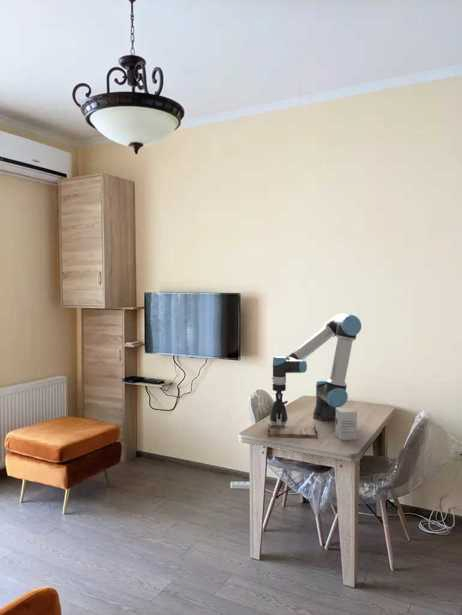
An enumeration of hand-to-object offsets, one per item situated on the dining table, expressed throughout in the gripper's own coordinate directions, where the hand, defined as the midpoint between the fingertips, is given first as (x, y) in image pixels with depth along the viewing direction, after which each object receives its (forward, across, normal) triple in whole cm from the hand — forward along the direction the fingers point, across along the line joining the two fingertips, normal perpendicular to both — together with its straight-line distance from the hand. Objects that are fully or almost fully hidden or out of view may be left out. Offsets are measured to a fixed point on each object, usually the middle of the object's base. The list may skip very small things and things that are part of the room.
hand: (278, 421), depth 275 cm
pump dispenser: (+3, 0, 0) cm, 3 cm away
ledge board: (+2, +14, +7) cm, 16 cm away
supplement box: (+3, +18, +35) cm, 39 cm away
